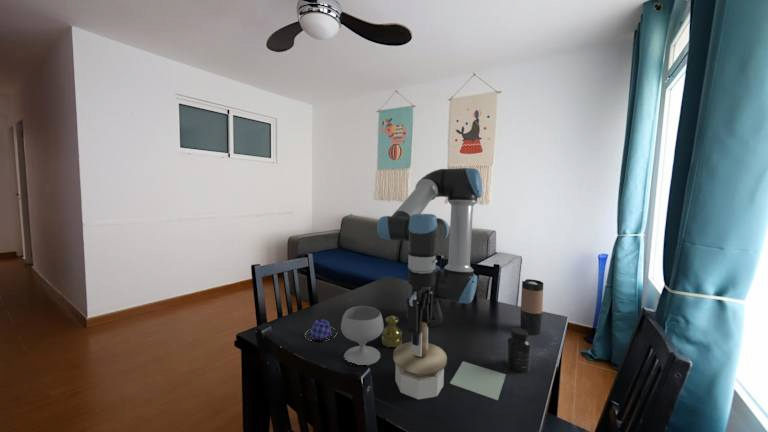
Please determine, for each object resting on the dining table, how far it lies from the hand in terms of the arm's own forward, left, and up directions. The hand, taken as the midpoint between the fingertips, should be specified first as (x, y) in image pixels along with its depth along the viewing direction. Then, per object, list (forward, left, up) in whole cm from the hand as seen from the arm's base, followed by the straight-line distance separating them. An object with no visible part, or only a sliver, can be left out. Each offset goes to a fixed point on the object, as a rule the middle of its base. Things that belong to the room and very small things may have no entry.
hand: (419, 351), depth 83 cm
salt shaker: (-18, +16, -10) cm, 26 cm away
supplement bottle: (+23, +24, -10) cm, 35 cm away
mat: (+14, +11, -10) cm, 20 cm away
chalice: (-22, +3, -10) cm, 24 cm away
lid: (0, 0, -2) cm, 2 cm away
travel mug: (+24, +54, -10) cm, 60 cm away
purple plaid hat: (-44, +7, -10) cm, 46 cm away
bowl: (0, 0, -10) cm, 10 cm away
